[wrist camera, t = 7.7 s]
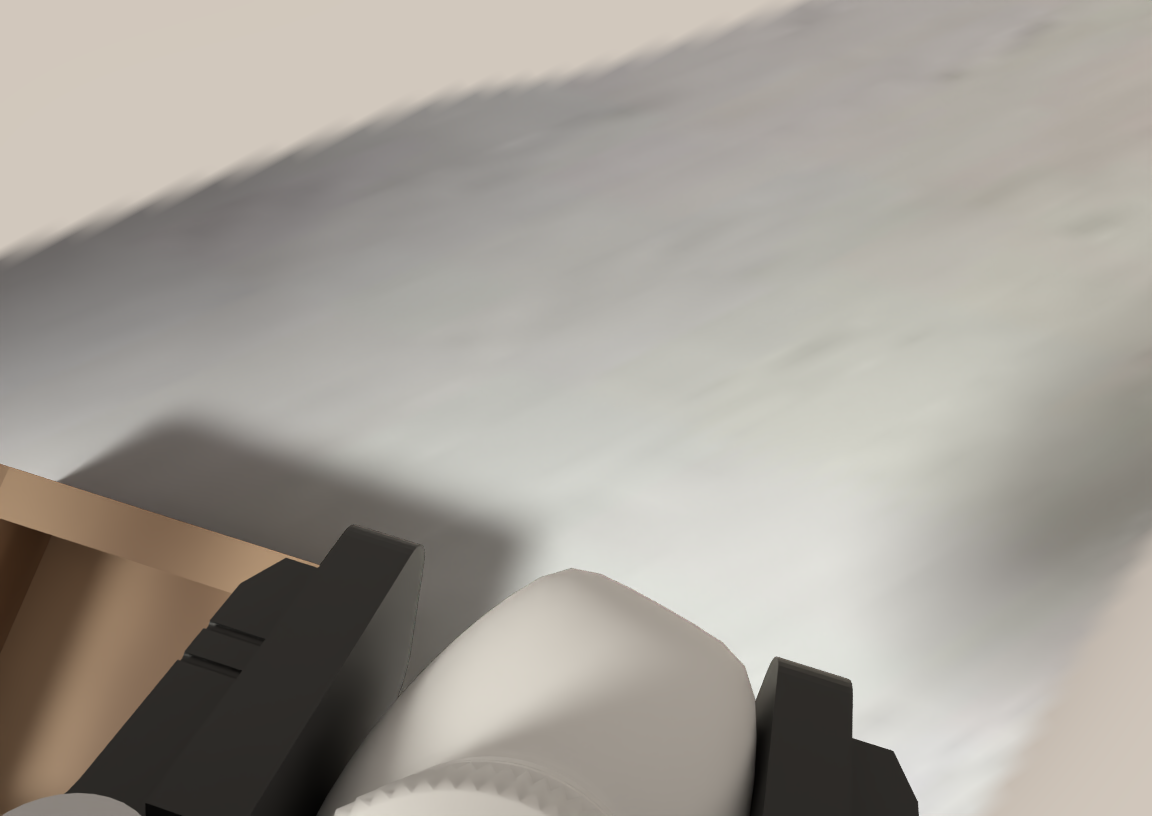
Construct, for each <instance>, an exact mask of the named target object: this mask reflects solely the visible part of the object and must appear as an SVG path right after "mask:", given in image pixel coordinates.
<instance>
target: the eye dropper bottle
mask: <svg viewBox="0 0 1152 816" xmlns="http://www.w3.org/2000/svg"><path fill="white" fill-rule="evenodd" d="M756 740H757V733H756V709H755V697H754V694H753V691H752V688H751V684H750V681H749V678H748V675H747V671H746V668H745V666H744V665H743V664H742V663H741V662H740V661H739V659H738V658H737V657H736V656H735V655H734V654H733V653H732V652H731V651H730V650H729V649H728V648H727V647H726V645H725V644H724V643H723V642H721V641H720V640H718V639H716V638H715V637H713V636H712V635H710V634H709V633H707V632H706V631H704V630H703V629H701V628H700V627H698V626H696V625H695V624H693V623H692V622H690V621H688V620H686V619H685V618H683V617H681V616H679V615H678V614H676V613H674V612H673V611H671V610H669V609H667V608H666V607H664V606H662V605H660V604H658V603H657V602H655V601H653V600H651V599H649V598H648V597H646V596H644V595H642V594H640V593H638V592H637V591H635V590H633V589H631V588H629V587H627V586H625V585H623V584H621V583H619V582H617V581H614V580H612V579H610V578H608V577H606V576H604V575H602V574H598V573H593V572H588V571H583V570H578V569H574V568H570V569H567V570H563V571H560V572H556V573H553V574H549V575H546V576H543V577H540V578H538V579H537V580H535V581H533V582H532V583H530V584H529V585H527V586H525V587H524V588H522V589H520V590H519V591H517V592H515V593H514V594H512V595H511V596H509V597H508V598H506V599H505V600H504V601H502V602H501V603H500V604H498V605H497V606H496V607H494V608H493V609H492V610H490V611H489V612H488V613H486V614H485V615H484V616H482V617H481V618H480V619H479V620H477V621H476V622H475V623H474V624H473V625H472V626H470V627H469V628H468V629H467V630H466V631H464V632H463V633H462V634H461V635H460V636H459V637H457V638H456V639H455V640H454V641H453V642H452V643H451V644H450V645H449V646H448V647H447V648H445V649H444V650H443V651H442V652H441V653H440V654H439V655H438V656H437V657H436V658H435V659H434V660H433V661H432V662H431V663H430V664H429V665H428V666H427V667H426V668H425V669H424V670H423V671H422V672H421V673H420V674H419V675H418V676H417V677H416V679H415V680H414V681H413V682H412V683H411V684H410V685H409V686H408V687H407V688H406V689H405V690H404V691H403V693H402V694H401V695H400V696H399V697H398V698H397V699H396V700H395V702H394V703H393V704H392V705H391V706H390V708H389V709H388V710H387V711H386V713H385V714H384V715H383V716H382V717H381V719H380V720H379V721H378V722H377V723H376V725H375V726H374V727H373V728H372V730H371V731H370V732H369V734H368V735H367V737H366V738H365V739H364V741H363V742H362V744H361V745H360V746H359V748H358V749H357V750H356V752H355V753H354V755H353V756H352V757H351V759H350V760H349V762H348V763H347V765H346V766H345V768H344V770H343V771H342V773H341V774H340V776H339V777H338V779H337V781H336V782H335V784H334V785H333V787H332V789H331V790H330V792H329V793H328V795H327V797H326V798H325V800H324V802H323V804H322V806H321V808H320V809H319V811H318V813H317V815H316V816H750V809H751V801H752V795H753V787H754V778H755V760H756Z"/></svg>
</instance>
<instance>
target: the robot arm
mask: <svg viewBox="0 0 1152 816" xmlns="http://www.w3.org/2000/svg"><path fill="white" fill-rule="evenodd" d="M424 557H425V552H424V547H423V546H422V545H420V544H416V543H413V542H410V541H407V540H403V539H400V538H397V537H394V536H391V535H387V534H384V533H381V532H378V531H374V530H371V529H368V528H365V527H362V526H358V525H351V526H350V527H349V528H347V529H346V531H345V532H344V533H343V534H342V536H341V537H340V538H339V540H338V541H337V542H336V544H335V545H334V546H333V548H332V549H331V551H330V552H329V553H328V555H327V556H326V557H325V559H324V560H323V561H322V563H321V564H320V566H319V567H318V568H317V567H314V566H311V565H308V564H305V563H301V562H298V561H295V560H292V559H289V558H284V559H283V560H281V561H279V562H277V563H275V564H274V565H272V566H270V567H268V568H267V569H265V570H263V571H261V572H259V573H258V574H256V575H254V576H252V577H251V578H249V579H247V580H245V581H243V582H242V583H240V584H239V585H238V587H237V588H236V589H235V590H234V592H233V593H232V594H231V595H230V596H229V598H228V599H227V600H226V601H225V602H224V604H223V605H222V606H221V607H220V609H219V610H218V611H217V612H216V613H215V615H214V616H213V617H212V618H211V619H210V622H209V625H208V627H207V628H206V629H205V628H203V629H202V630H201V632H200V633H199V634H198V635H197V636H196V638H195V639H194V640H193V641H192V643H191V644H190V645H189V646H188V647H187V649H186V650H185V651H184V655H183V657H182V659H181V660H177V661H176V662H175V663H174V664H173V666H172V667H171V668H170V669H169V671H168V672H167V673H166V674H165V675H164V677H163V678H162V679H161V680H160V681H159V683H158V684H157V685H156V686H155V688H154V689H153V690H152V691H151V692H150V694H149V695H148V696H147V697H146V698H145V700H144V701H143V702H142V703H141V705H140V706H139V707H138V708H137V709H136V711H135V712H134V713H133V714H132V715H131V717H130V718H129V719H128V720H127V722H126V723H125V724H124V725H123V726H122V728H121V729H120V730H119V731H118V733H117V734H116V735H115V736H114V737H113V739H112V740H111V741H110V742H109V743H108V745H107V746H106V747H105V748H104V750H103V751H102V752H101V753H100V754H99V756H98V757H97V758H96V759H95V760H94V762H93V763H92V764H91V765H90V767H89V768H88V769H87V770H86V771H85V773H84V774H83V775H82V776H81V777H80V779H79V780H78V781H77V782H76V783H75V784H74V785H73V786H72V787H71V788H70V789H69V790H68V791H67V792H66V793H65V794H59V795H54V796H49V797H44V798H40V799H37V800H35V801H32V802H29V803H26V804H23V805H21V806H19V807H17V808H15V809H13V810H10V811H8V812H6V813H5V814H3V815H2V816H316V815H317V813H318V811H319V809H320V808H321V806H322V804H323V802H324V800H325V798H326V797H327V795H328V793H329V792H330V790H331V789H332V787H333V785H334V784H335V782H336V781H337V779H338V777H339V776H340V774H341V773H342V771H343V770H344V768H345V766H346V765H347V763H348V762H349V760H350V759H351V757H352V756H353V755H354V753H355V752H356V750H357V749H358V748H359V746H360V745H361V744H362V742H363V741H364V739H365V738H366V737H367V735H368V734H369V732H370V731H371V730H372V728H373V727H374V726H375V725H376V723H377V722H378V721H379V720H380V719H381V717H382V716H383V715H384V714H385V713H386V711H387V710H388V709H389V708H390V706H391V705H392V704H393V703H394V702H395V700H396V699H397V697H398V694H399V692H400V689H401V686H402V683H403V680H404V677H405V674H406V670H407V666H408V662H409V657H410V652H411V645H412V639H413V632H414V625H415V619H416V612H417V606H418V599H419V592H420V586H421V579H422V573H423V566H424ZM755 709H756V733H757V740H756V760H755V778H754V787H753V795H752V801H751V809H750V816H919V812H918V801H917V799H916V797H915V795H914V793H913V791H912V789H911V787H910V785H909V783H908V781H907V778H906V776H905V774H904V772H903V770H902V768H901V766H900V764H899V762H898V760H897V758H896V756H895V754H894V752H893V751H891V750H888V749H885V748H882V747H879V746H876V745H872V744H869V743H866V742H863V741H860V740H857V739H854V738H852V712H853V688H852V683H851V680H849V679H847V678H844V677H841V676H838V675H834V674H831V673H828V672H825V671H821V670H818V669H815V668H812V667H809V666H805V665H802V664H799V663H796V662H793V661H789V660H786V659H783V658H780V657H775V658H774V659H773V660H772V662H771V664H770V666H769V668H768V670H767V673H766V675H765V678H764V680H763V683H762V686H761V688H760V691H759V693H758V696H757V698H756V701H755Z"/></svg>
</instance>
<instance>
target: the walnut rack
mask: <svg viewBox="0 0 1152 816" xmlns="http://www.w3.org/2000/svg"><path fill="white" fill-rule="evenodd" d="M284 558H289V559H292V560H295V561H298V562H301V563H305V564H308V565H311V566H314V567H317V568H318V567H319V566H320V565H318V564H315V563H311V562H308V561H305V560H302V559H299V558H296V557H292V556H289V555H286V554H283V553H280V552H277V551H274V550H270V549H267V548H264V547H261V546H258V545H255V544H251V543H248V542H245V541H242V540H239V539H236V538H233V537H229V536H226V535H223V534H220V533H217V532H214V531H210V530H207V529H204V528H201V527H198V526H195V525H192V524H188V523H185V522H182V521H179V520H176V519H173V518H169V517H166V516H163V515H160V514H157V513H154V512H151V511H147V510H144V509H141V508H138V507H135V506H132V505H128V504H125V503H122V502H119V501H116V500H113V499H110V498H106V497H103V496H100V495H97V494H94V493H91V492H87V491H84V490H81V489H78V488H75V487H72V486H69V485H65V484H62V483H59V482H56V481H53V480H50V479H46V478H43V477H40V476H37V475H34V474H31V473H28V472H24V471H21V470H18V469H15V468H12V467H9V466H5V465H2V464H0V816H2V815H3V814H5V813H6V812H8V811H10V810H13V809H15V808H17V807H19V806H21V805H23V804H26V803H29V802H32V801H35V800H37V799H40V798H44V797H49V796H54V795H59V794H65V793H66V792H67V791H68V790H69V789H70V788H71V787H72V786H73V785H74V784H75V783H76V782H77V781H78V780H79V779H80V777H81V776H82V775H83V774H84V773H85V771H86V770H87V769H88V768H89V767H90V765H91V764H92V763H93V762H94V760H95V759H96V758H97V757H98V756H99V754H100V753H101V752H102V751H103V750H104V748H105V747H106V746H107V745H108V743H109V742H110V741H111V740H112V739H113V737H114V736H115V735H116V734H117V733H118V731H119V730H120V729H121V728H122V726H123V725H124V724H125V723H126V722H127V720H128V719H129V718H130V717H131V715H132V714H133V713H134V712H135V711H136V709H137V708H138V707H139V706H140V705H141V703H142V702H143V701H144V700H145V698H146V697H147V696H148V695H149V694H150V692H151V691H152V690H153V689H154V688H155V686H156V685H157V684H158V683H159V681H160V680H161V679H162V678H163V677H164V675H165V674H166V673H167V672H168V671H169V669H170V668H171V667H172V666H173V664H174V663H175V662H176V661H177V660H181V659H182V657H183V655H184V651H185V650H186V649H187V647H188V646H189V645H190V644H191V643H192V641H193V640H194V639H195V638H196V636H197V635H198V634H199V633H200V632H201V630H202V629H203V628H205V629H206V628H207V627H208V625H209V622H210V619H211V618H212V617H213V616H214V615H215V613H216V612H217V611H218V610H219V609H220V607H221V606H222V605H223V604H224V602H225V601H226V600H227V599H228V598H229V596H230V595H231V594H232V593H233V592H234V590H235V589H236V588H237V587H238V585H239V584H240V583H242V582H243V581H245V580H247V579H249V578H251V577H252V576H254V575H256V574H258V573H259V572H261V571H263V570H265V569H267V568H268V567H270V566H272V565H274V564H275V563H277V562H279V561H281V560H283V559H284Z"/></svg>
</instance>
